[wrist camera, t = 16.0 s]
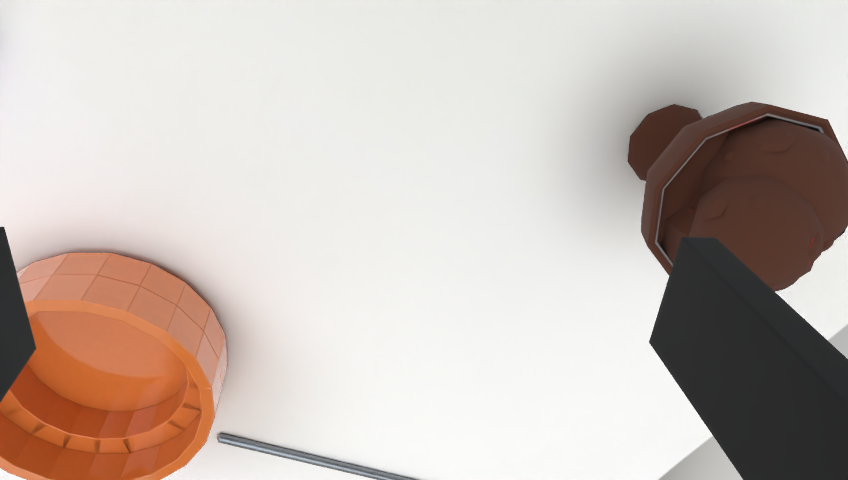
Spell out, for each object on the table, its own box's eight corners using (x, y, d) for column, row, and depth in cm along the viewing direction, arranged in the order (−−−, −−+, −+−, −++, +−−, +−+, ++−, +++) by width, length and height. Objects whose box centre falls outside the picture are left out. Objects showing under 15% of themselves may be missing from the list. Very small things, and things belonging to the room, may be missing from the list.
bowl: (-39, 246, 39) (-97, 300, 34) (219, 248, 42) (202, 299, 36) (17, 429, 47) (-23, 497, 42) (235, 424, 49) (222, 487, 44)
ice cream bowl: (640, 247, 45) (760, 390, 32) (556, 135, 40) (659, 251, 27) (772, 154, 43) (960, 268, 30) (700, 24, 38) (887, 93, 25)
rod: (219, 430, 49) (217, 437, 49) (436, 482, 55) (437, 489, 54) (216, 436, 50) (215, 443, 49) (432, 488, 55) (433, 494, 55)
